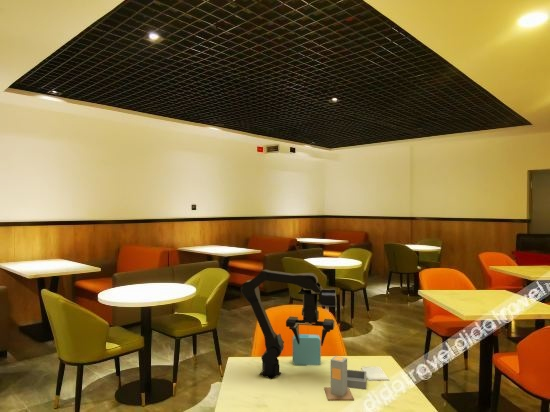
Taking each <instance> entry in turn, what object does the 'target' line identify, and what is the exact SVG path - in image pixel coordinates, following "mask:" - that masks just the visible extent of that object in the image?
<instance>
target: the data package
mask: <svg viewBox="0 0 550 412" xmlns="http://www.w3.org/2000/svg"><path fill="white" fill-rule="evenodd" d="M299 337H300V344H298V342H297V340H296V337H295V335H293V337H292V363H293V365H294V366H306V367H307V366H320V365H321V361H322V359H321V358H322V355H321V353H322V346H321V337H320V335H319V334H307V333H306V334H304V333H303V334H301V333H299Z"/></svg>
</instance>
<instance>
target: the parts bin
mask: <svg viewBox="0 0 550 412" xmlns="http://www.w3.org/2000/svg"><path fill="white" fill-rule="evenodd" d="M347 387H349V389H361V390H367V377H366V371H362V370H357V369H355V370H354V369H347Z"/></svg>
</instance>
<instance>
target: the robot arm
mask: <svg viewBox="0 0 550 412" xmlns="http://www.w3.org/2000/svg"><path fill="white" fill-rule="evenodd" d="M266 281H268V282H275V283H276V282H277V283H284V284H291V285H292V284H293V285H296V286H298V287H300V288H301V289H300V290H299V291H298V292H297V294H298V295H302V309H301V315H302V319H299V317H298V316H289V317H288V318H287V319H286V320H285V326H286V327H287V328H288V329H289V330H291V331H292V333H293V334H294V335H295V337H296V340H297V342H298V344H300V337H299V334H300V329H299V328H300V325H301V326H314V327H322V331H321V338H320V340H321V347H323V346H324V341H325V339H326V336H327V333H330V332H331V331H334V328H335V325H336V324H335V322H336V321H335V320H334V319H333V318H331V319H330V318H324V319H323V320H319V319H320V314H319V313H320V312H319V310H318V304H320V305H321V307H337V293H336V288H323V287H322V285H321V284H320V282H319V278H318V276H317V275H316V273H314V272H302V273H301V272H300V273H291V272H284V271H277V270H270V269H263V270H262V271H261V272H259V273H258V275H256V276H255V277H253V278H252V279H248V280H246V281H245V282H243V283H242V285H241V286H240V291H241V294H242V295H243V297H244V299H245V300H246V301H247V302H248V303H249V305H250V306H251V309H252V311H253V314H254V315H255V318H256V320H257V323H258V326H259V327H260V329H261V332H262V335H263V337H264V346H265V351H264V352H263V354H262V356H261V358H260V359H261V361H262V362H261V367H262V368H261V370H262V371H261V372H259V375H260V376H262V377H265V378H268V379H270V380H271V379H274V378H276V377H278V376H281V375H282V372H281V371H280V360H279V359H278V358H279V357H280V356H281V354H282V352H283V350H284V348H285V341H284V340H283V338H282V334H281V333H278V334H277V332H275V330H274V328H273V326H272V324H271V321H270V319H269V316H268V314H267V312H266V309H265V308H264V304H263V302H262V300H261V291H260V288H259V287H260V286H261V285H262V284H263V283H264V282H266ZM294 335H293V336H294Z"/></svg>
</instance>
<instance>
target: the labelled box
mask: <svg viewBox="0 0 550 412" xmlns="http://www.w3.org/2000/svg"><path fill="white" fill-rule="evenodd" d="M347 370H348V357H344V356H338V355H334V356H333V357H332V358H331V359H330V387H331V394H334V395H338V396H342V397H343V396H344V395H345V394H346V393H347Z"/></svg>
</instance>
